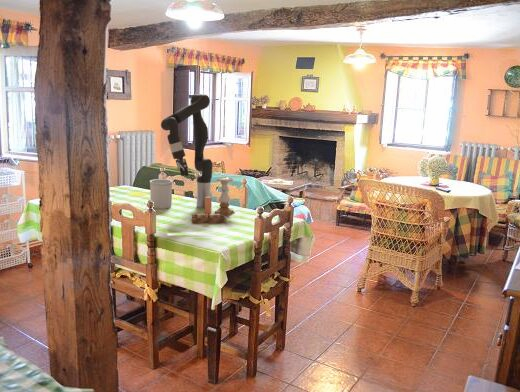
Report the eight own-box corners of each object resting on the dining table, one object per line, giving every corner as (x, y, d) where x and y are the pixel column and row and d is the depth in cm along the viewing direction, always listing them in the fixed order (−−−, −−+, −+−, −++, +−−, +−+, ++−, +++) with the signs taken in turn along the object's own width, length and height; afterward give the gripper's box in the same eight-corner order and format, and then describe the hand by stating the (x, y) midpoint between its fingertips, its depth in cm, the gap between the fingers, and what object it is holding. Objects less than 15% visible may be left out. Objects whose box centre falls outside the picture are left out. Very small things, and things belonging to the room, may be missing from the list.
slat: (205, 220, 278) (205, 197, 275) (204, 219, 280) (205, 196, 277) (210, 220, 279) (211, 197, 276) (210, 219, 280) (211, 196, 278)
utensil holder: (175, 208, 313) (175, 182, 309) (152, 209, 306) (152, 183, 302) (169, 203, 325) (169, 178, 322) (147, 204, 319) (147, 179, 315)
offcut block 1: (197, 222, 273) (197, 215, 272) (197, 221, 275) (197, 213, 274) (207, 222, 274) (207, 215, 273) (207, 221, 277) (207, 213, 276)
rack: (191, 226, 270) (191, 218, 269) (190, 221, 280) (190, 214, 280) (226, 225, 274) (226, 218, 273) (223, 220, 284) (224, 213, 283)
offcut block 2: (209, 222, 274) (209, 215, 273) (209, 221, 277) (209, 213, 276) (219, 222, 275) (219, 214, 274) (219, 221, 278) (219, 213, 277)
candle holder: (235, 214, 300) (236, 178, 295) (228, 218, 290) (229, 180, 285) (219, 212, 304) (220, 176, 299) (212, 216, 294) (213, 179, 289)
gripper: (186, 148, 280) (194, 173, 283) (179, 148, 293) (187, 173, 296) (174, 151, 277) (182, 177, 280) (168, 152, 290) (176, 177, 293)
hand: (185, 175), depth 288 cm, fingers open, 8 cm apart
